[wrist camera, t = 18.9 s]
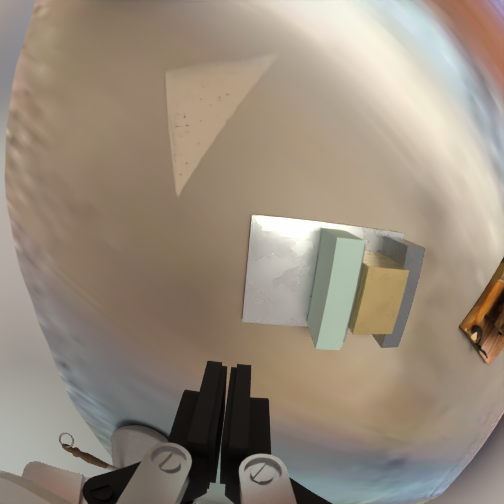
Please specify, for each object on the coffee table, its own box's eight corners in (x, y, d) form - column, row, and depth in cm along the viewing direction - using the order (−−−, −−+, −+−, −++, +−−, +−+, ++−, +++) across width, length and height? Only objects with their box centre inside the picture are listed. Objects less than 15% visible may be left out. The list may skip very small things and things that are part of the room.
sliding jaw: (306, 323, 27) (315, 349, 22) (322, 227, 25) (337, 237, 20) (332, 324, 27) (344, 349, 22) (349, 231, 25) (369, 241, 20)
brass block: (335, 305, 27) (352, 334, 21) (346, 249, 26) (368, 266, 20) (369, 307, 27) (391, 333, 21) (381, 253, 26) (409, 270, 20)
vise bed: (242, 318, 28) (239, 347, 23) (252, 214, 26) (250, 221, 20) (379, 325, 28) (400, 350, 23) (400, 232, 26) (430, 243, 20)
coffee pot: (189, 459, 36) (174, 527, 21) (133, 452, 36) (109, 510, 22) (146, 371, 31) (100, 457, 16) (82, 366, 31) (29, 430, 17)
